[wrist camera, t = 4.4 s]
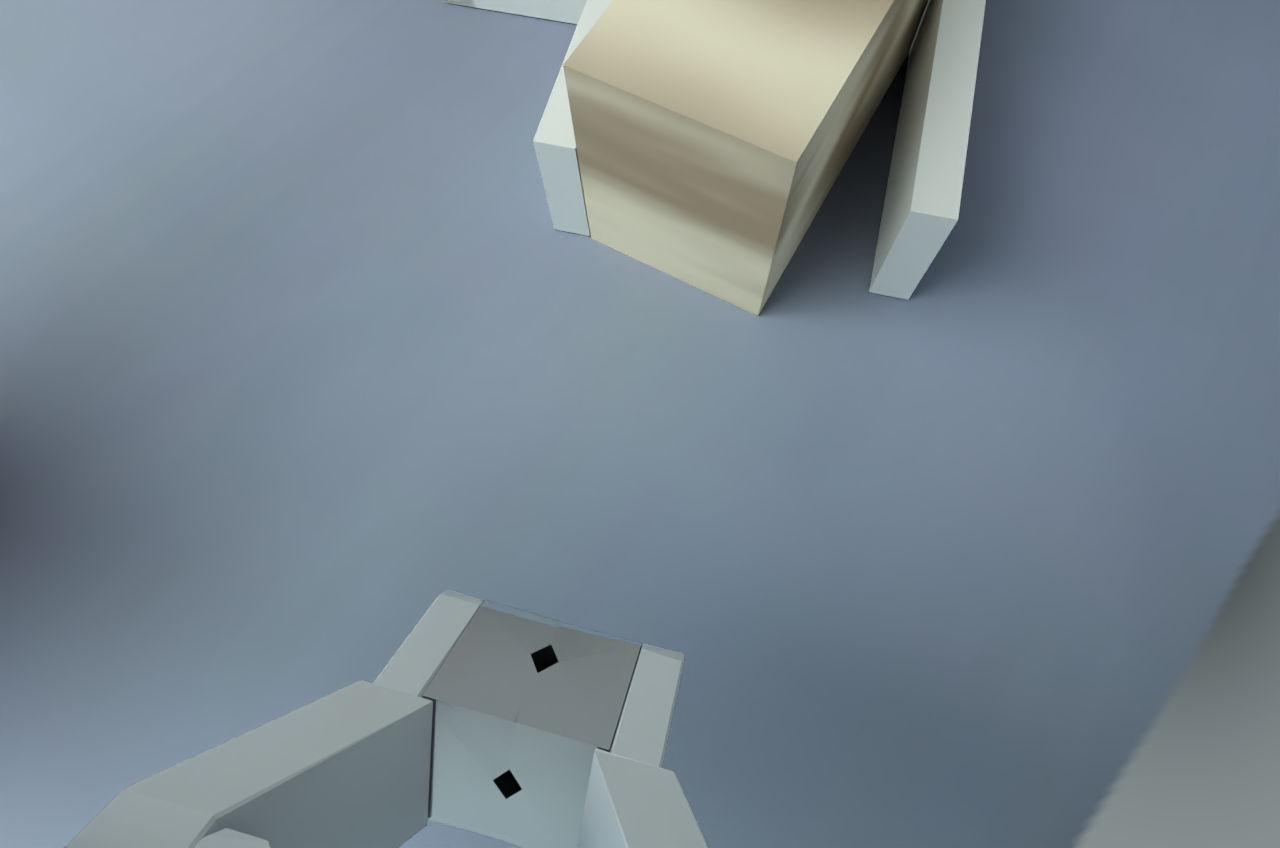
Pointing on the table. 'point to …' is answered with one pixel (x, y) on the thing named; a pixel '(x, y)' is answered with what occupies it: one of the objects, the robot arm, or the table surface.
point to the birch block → (726, 126)
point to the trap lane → (921, 151)
